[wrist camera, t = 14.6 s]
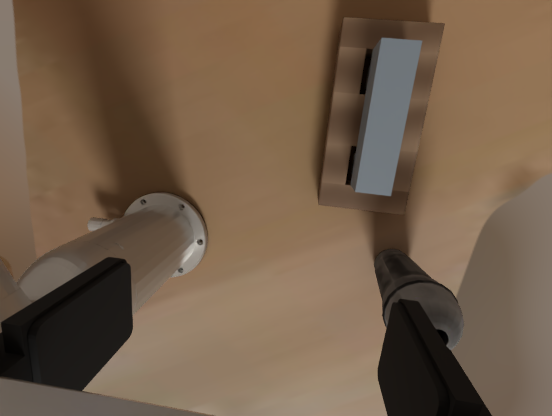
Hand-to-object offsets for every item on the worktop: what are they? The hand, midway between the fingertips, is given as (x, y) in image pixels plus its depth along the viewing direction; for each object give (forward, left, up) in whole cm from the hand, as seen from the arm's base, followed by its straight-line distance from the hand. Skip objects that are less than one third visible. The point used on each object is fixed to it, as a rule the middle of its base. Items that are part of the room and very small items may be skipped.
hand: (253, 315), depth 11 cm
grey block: (+8, +8, -30) cm, 32 cm away
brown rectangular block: (+8, +8, -30) cm, 32 cm away
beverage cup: (+14, -10, -31) cm, 35 cm away
